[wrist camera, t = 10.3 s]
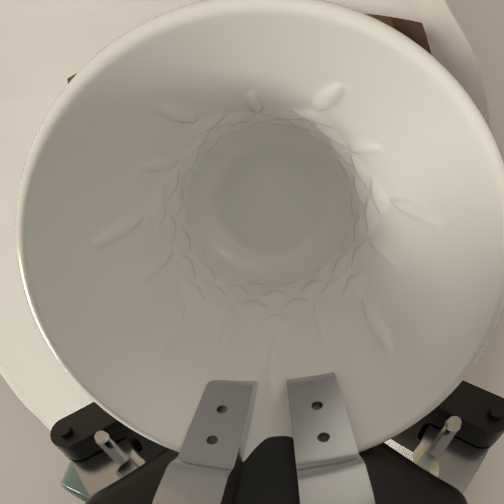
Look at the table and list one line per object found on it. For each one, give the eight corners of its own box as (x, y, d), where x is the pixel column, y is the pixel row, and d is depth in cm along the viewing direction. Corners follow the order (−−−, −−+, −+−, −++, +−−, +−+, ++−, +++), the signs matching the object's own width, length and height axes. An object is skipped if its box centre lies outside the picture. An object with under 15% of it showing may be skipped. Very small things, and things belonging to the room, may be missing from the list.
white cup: (368, 251, 13) (475, 410, 4) (220, 291, 14) (158, 468, 5) (327, 92, 11) (449, -22, 1) (164, 146, 12) (-27, 171, 3)
